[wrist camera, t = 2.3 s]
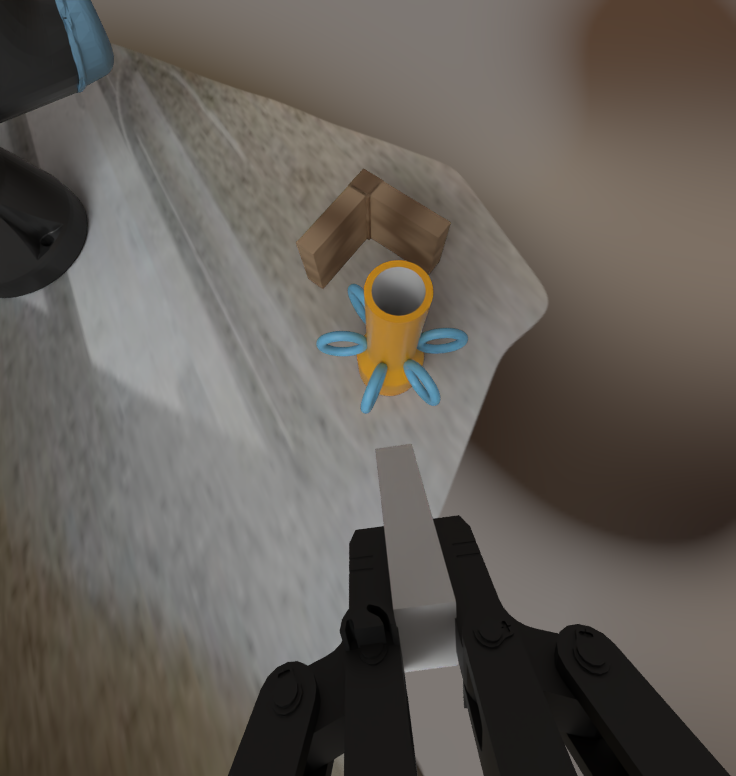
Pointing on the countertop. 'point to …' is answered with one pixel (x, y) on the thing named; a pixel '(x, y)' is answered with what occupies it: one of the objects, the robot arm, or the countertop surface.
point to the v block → (371, 229)
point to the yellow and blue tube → (393, 333)
